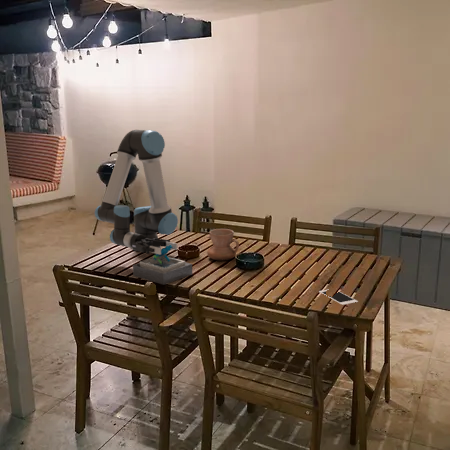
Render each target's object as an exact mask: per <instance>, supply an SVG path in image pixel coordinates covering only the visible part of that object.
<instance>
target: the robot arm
mask: <svg viewBox="0 0 450 450" xmlns="http://www.w3.org/2000/svg"><path fill="white" fill-rule="evenodd" d="M165 142H166V141H165V139H164V137H163V136H162V133H160V132H158V131H156V130H152V129H132V130H130V131H129V132H127V133H126V134H125V135H124V137H123V138H122V139H121V141H120V143H119V145H118V148H117V152H116V153H117V157H116V161H115V163H114V167H113V169H112V173H111V175H110V178H109V181H108V184H107V188H106V189H105V193H104V196H103V199H102V203H101V205H98V206H97V207H96V208H95V210H94V217H95V218H96V219H97V220H98V221H101V222H104V223H110V224H112V225H113V230H112V231H110V234H109V240H110V242H111V243H112V244H115V245H116V246H120V247H121V246H122V247H126V248H130V249H131V250H133V251H134V252H141V253H146V254H150V253H152V254H155V255H156V254H161V251H162V247H163V248H166V246H169V245H171V246H172V248H171V250H175V251H177V250H178V243H176V242H171V240H170V239H163V238H159V237H158V234H160V235H171V234H173V233H174V232H175V230H176V229H177V227H178V223H179V222H178V221H179V220H178V215H176V214H175V213H174V212H172V211H173V210H172V207H171V205H169V204H168V199H167V195H166V188H165V181H164V178H163V172H162V165H161V160H160V159H161V158H162V157H163V152H164V149H165V146H166V143H165ZM137 157H138V160H139V161H140V162H142V165H143V166H142V167H143V172H144V177H145V182H146V188H147V193H148V198H149V204H150V205H148V206H140V207H136V208H134V211H133V222H134V223H133V224H134V232H133V231H131V211H130V209H131V208H130V207H129V206H128V205H126V204H125V205H124V204H121V205H120V204H119V202H120V199H121V196H122V193H123V189H124V187H125V183H126V181H127V178H128V175H129V172H130V169H131V167H132V164H133V163H132V162H133V161H134V160H136V158H137ZM118 204H119V205H118Z"/></svg>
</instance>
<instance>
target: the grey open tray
mask: <svg viewBox="0 0 450 450" xmlns="http://www.w3.org/2000/svg"><path fill="white" fill-rule="evenodd" d="M167 257H168V258H169V259H170V261H169V262H168V261H167V259H166V258H165V257H163V258H161V259H160V261H161V262H162V264H160V262H159V261H158V260H155V259H154V257H149V258H147V259H143V260H140V261H139V262H138V263H135V264H133V265H132V273H133V275H132V276H133V277H138V278H139V279H140V278H141V279H144V280H147V281H150V282H154V283H157V284H160V285H164V286H165V285H167V284H170V283H173V282H176V281H179V280H181V279H183V278H186V277H189V276H192V275H193V263H191V262H190V263H189V262H186V261H185V260H181V259H177V258H175V257H170V256H167Z"/></svg>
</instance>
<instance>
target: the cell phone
mask: <svg viewBox="0 0 450 450" xmlns="http://www.w3.org/2000/svg"><path fill="white" fill-rule="evenodd" d="M327 290H328V289H325V290H319V291H318V293H319V294H322V295H323V294H324V296H325V295H326V291H327ZM325 297H327V295H326V296H325ZM327 298H329V299H330V298H331V300H332V301H334V302H336V303H337V304H339V305H342V306H344V305H349V304H350V305H351V304H355V302H356V303H359V300H357V299H355V298H353V297H351V296H349V295H347V294H345V293H344V292H341V291H339V292H338V293H336V294H335V295H334V296H333V297H331V296H330V297H329V296H328V297H327Z"/></svg>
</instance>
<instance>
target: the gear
mask: <svg viewBox="0 0 450 450" xmlns="http://www.w3.org/2000/svg"><path fill="white" fill-rule="evenodd" d="M171 248H172V246H171V245H169V246H166V247H163V248H161V254H156V253H155V254H154V255H152V256H153V257H154V259H155V260H158V261H159V262H160V264H162V262H161V261H160V259H161V258H163V257H165V258H166V259H167V261H168V262H169V261H170V259H169V258H168V257H169V256H167V254H168V253H169V252H170V251H171V250H172V249H171ZM153 257H152V258H153Z"/></svg>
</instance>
